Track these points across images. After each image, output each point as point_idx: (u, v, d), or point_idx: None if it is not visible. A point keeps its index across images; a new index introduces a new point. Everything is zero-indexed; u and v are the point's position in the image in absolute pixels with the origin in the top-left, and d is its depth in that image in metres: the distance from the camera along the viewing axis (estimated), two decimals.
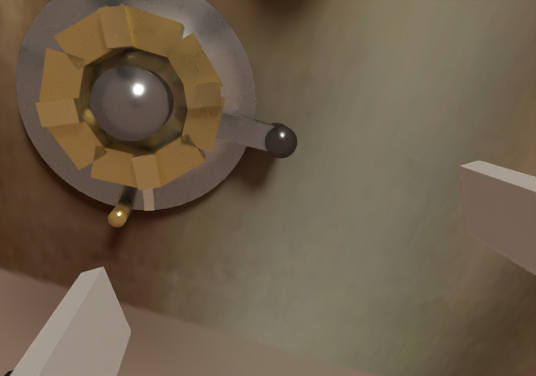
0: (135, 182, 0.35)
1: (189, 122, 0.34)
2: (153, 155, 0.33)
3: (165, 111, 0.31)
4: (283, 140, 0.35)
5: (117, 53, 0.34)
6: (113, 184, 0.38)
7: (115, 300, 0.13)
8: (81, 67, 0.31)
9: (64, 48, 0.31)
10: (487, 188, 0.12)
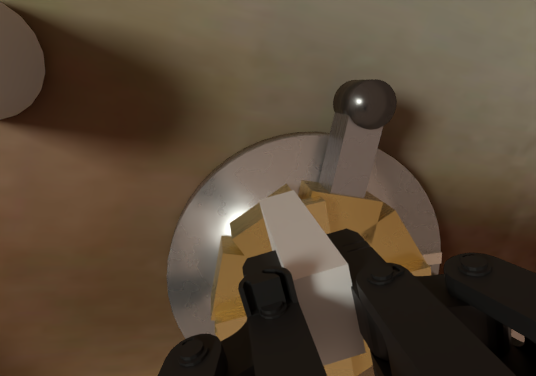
0: None
1: None
2: None
3: None
4: (370, 102, 0.23)
5: None
6: None
7: None
8: None
9: None
10: None
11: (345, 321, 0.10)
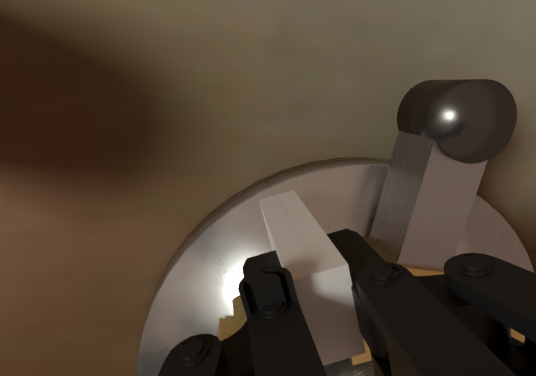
0: None
1: None
2: None
3: None
4: (474, 117, 0.13)
5: None
6: None
7: None
8: None
9: None
10: None
11: (345, 321, 0.10)
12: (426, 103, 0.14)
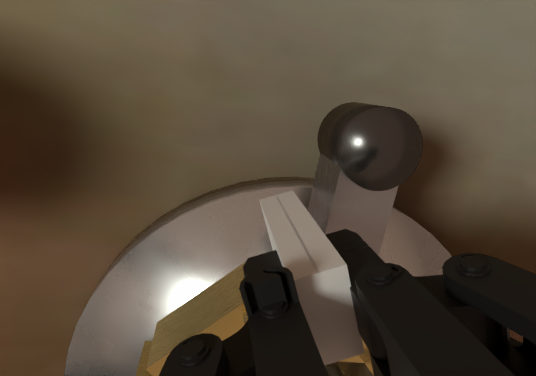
0: None
1: None
2: None
3: None
4: (378, 145, 0.13)
5: None
6: None
7: None
8: None
9: None
10: None
11: (344, 321, 0.10)
12: (335, 129, 0.14)
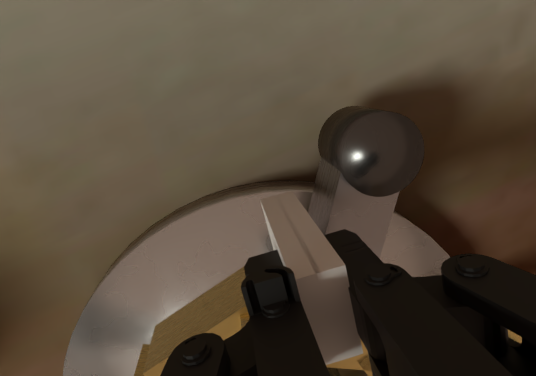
0: None
1: None
2: None
3: None
4: (378, 151, 0.13)
5: None
6: None
7: None
8: None
9: None
10: None
11: (343, 322, 0.10)
12: (336, 133, 0.14)
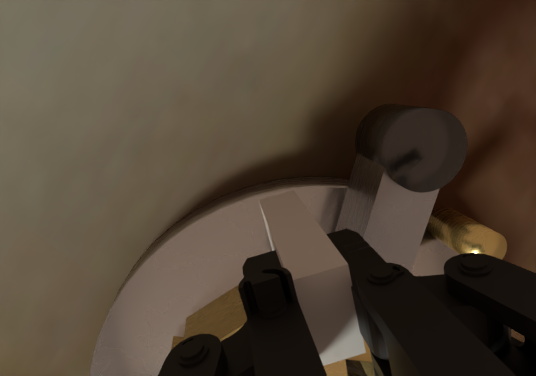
0: None
1: (367, 352, 0.16)
2: None
3: None
4: (423, 147, 0.13)
5: None
6: (432, 272, 0.19)
7: None
8: None
9: None
10: None
11: (345, 321, 0.10)
12: (379, 129, 0.14)
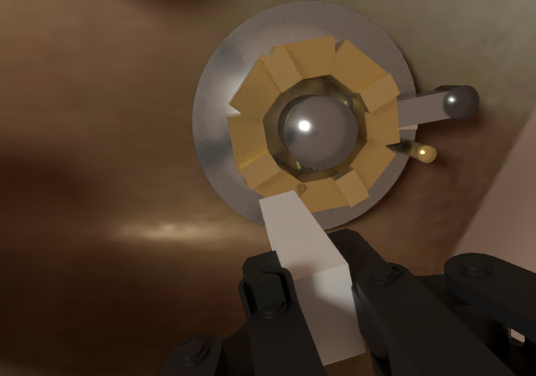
0: (340, 202, 0.35)
1: (370, 124, 0.33)
2: (353, 170, 0.33)
3: (330, 98, 0.30)
4: (464, 100, 0.34)
5: None
6: None
7: None
8: (260, 120, 0.32)
9: (241, 111, 0.32)
10: None
11: (345, 321, 0.10)
12: None
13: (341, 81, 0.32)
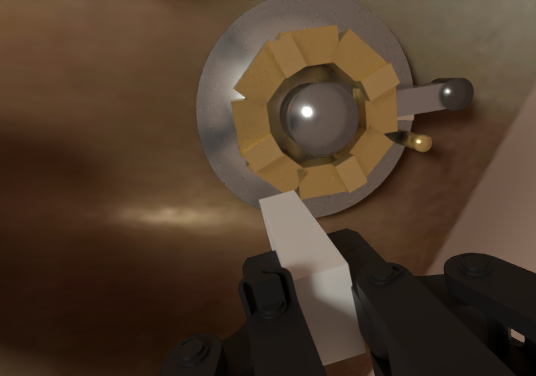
0: (339, 188, 0.36)
1: (370, 113, 0.35)
2: (353, 156, 0.34)
3: (333, 84, 0.31)
4: (459, 92, 0.35)
5: None
6: None
7: None
8: (264, 105, 0.33)
9: (246, 95, 0.33)
10: None
11: (345, 321, 0.10)
12: None
13: (343, 69, 0.33)
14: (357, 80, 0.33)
